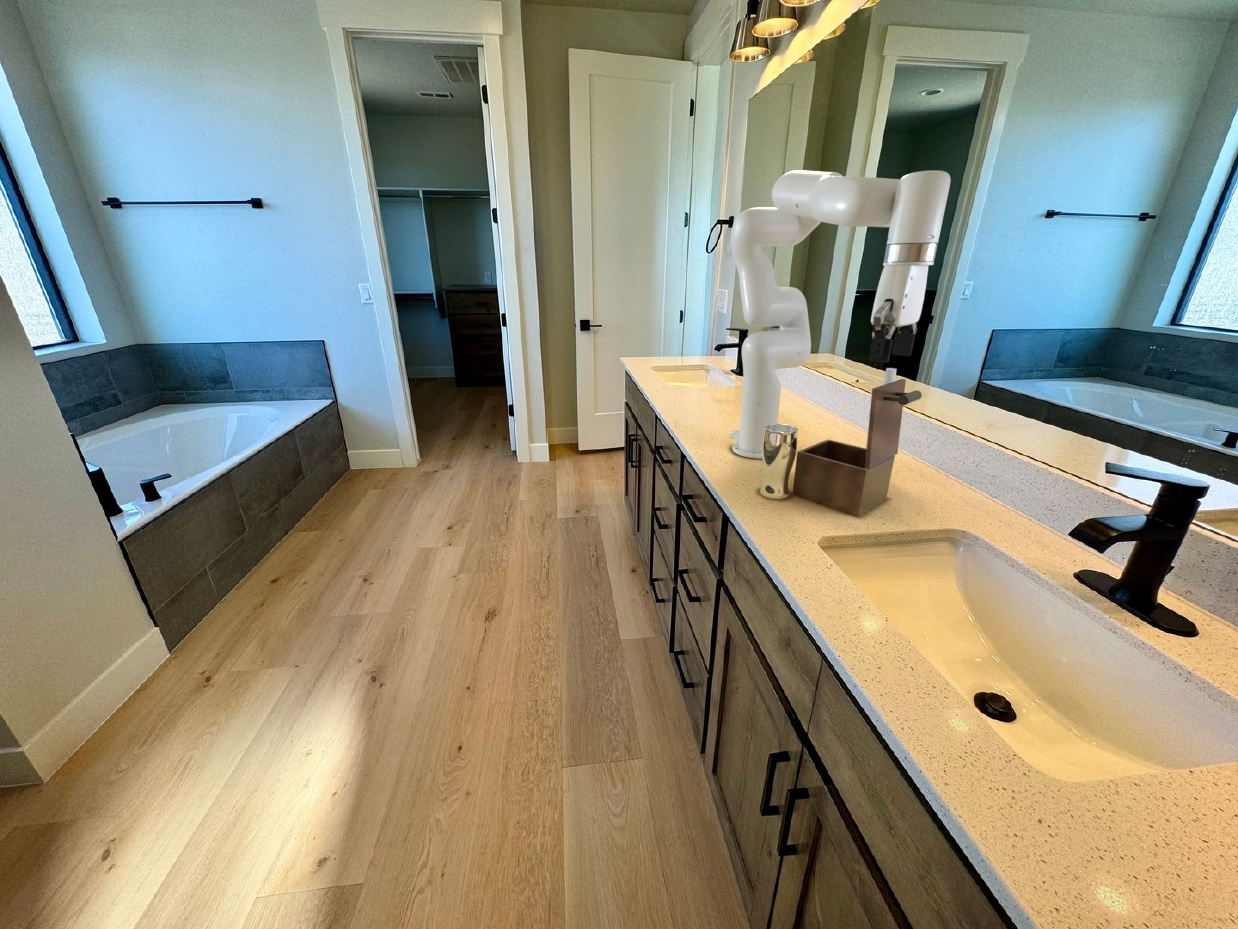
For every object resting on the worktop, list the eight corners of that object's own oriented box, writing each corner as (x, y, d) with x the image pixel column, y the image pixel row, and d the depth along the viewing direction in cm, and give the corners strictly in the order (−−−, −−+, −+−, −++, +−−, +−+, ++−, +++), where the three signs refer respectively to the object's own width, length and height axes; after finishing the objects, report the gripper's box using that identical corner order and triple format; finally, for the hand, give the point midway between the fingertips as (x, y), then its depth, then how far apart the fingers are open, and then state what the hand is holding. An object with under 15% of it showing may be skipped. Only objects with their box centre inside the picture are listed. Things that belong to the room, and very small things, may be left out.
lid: (872, 388, 89) (902, 390, 85) (901, 378, 96) (930, 380, 93) (864, 468, 94) (893, 473, 90) (893, 453, 101) (920, 457, 97)
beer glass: (768, 501, 104) (775, 434, 98) (752, 489, 110) (757, 424, 105) (797, 497, 106) (806, 431, 100) (779, 485, 112) (786, 421, 106)
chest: (792, 493, 107) (797, 451, 104) (822, 478, 115) (827, 439, 111) (858, 516, 97) (866, 470, 93) (886, 498, 104) (895, 455, 101)
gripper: (906, 257, 91) (888, 351, 97) (863, 256, 80) (847, 361, 87) (952, 256, 86) (930, 355, 92) (913, 255, 75) (891, 367, 81)
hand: (890, 358), depth 89 cm, fingers open, 9 cm apart
